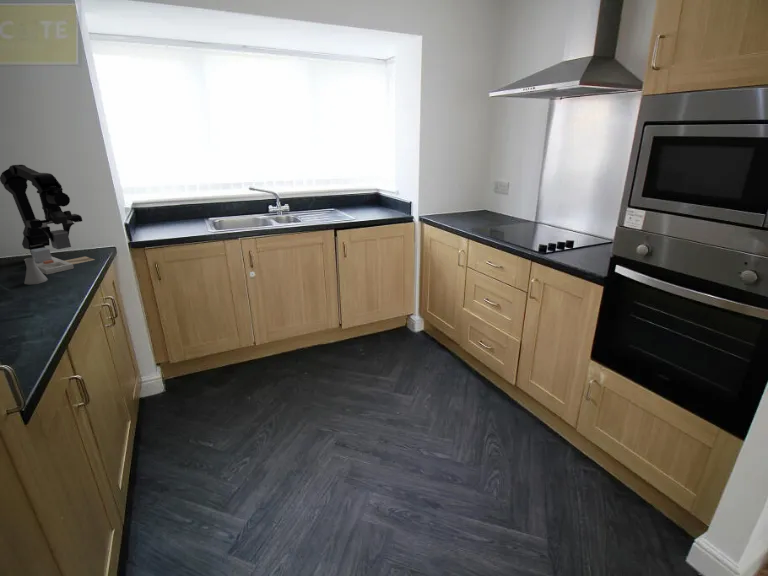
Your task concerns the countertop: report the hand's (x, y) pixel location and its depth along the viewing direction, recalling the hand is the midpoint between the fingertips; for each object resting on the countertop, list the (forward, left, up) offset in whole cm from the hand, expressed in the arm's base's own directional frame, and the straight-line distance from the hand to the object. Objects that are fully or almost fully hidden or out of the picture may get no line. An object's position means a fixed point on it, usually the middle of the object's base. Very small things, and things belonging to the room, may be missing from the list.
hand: (60, 240), depth 184 cm
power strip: (-5, -5, -12) cm, 14 cm away
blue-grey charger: (-9, -5, -11) cm, 15 cm away
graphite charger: (0, 0, -3) cm, 3 cm away
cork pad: (-4, +7, -12) cm, 14 cm away
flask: (+15, -16, -12) cm, 26 cm away
